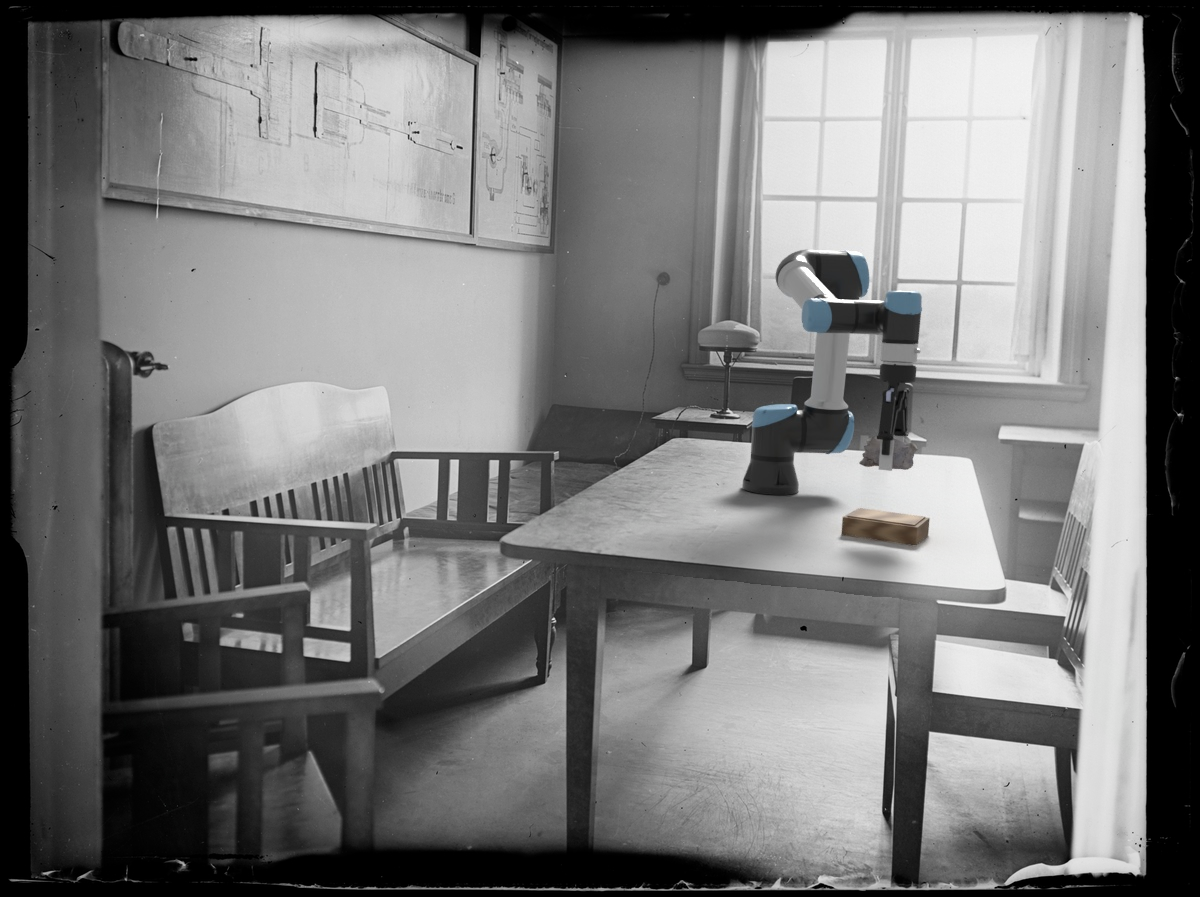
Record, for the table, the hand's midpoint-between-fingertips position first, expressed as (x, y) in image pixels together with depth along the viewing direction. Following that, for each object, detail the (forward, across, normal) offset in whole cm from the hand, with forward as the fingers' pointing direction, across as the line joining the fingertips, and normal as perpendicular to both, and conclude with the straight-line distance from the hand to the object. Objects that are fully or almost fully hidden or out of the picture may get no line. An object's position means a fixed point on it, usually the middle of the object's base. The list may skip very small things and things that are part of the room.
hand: (890, 467), depth 210 cm
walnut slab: (+15, 0, 0) cm, 15 cm away
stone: (+1, 0, +1) cm, 1 cm away
